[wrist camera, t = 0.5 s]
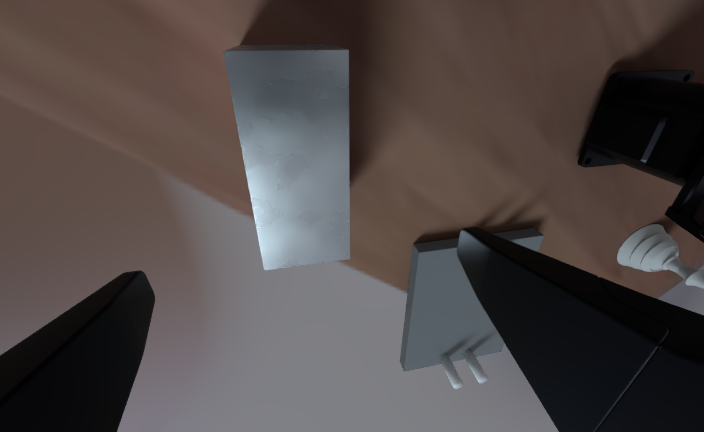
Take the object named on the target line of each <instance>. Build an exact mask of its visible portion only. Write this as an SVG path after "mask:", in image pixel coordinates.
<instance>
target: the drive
mask: <svg viewBox="0 0 704 432" xmlns="http://www.w3.org/2000/svg"><path fill="white" fill-rule="evenodd" d="M224 56H225V62H226V67H227V72H228V78H229V83H230V89H231V94H232V99H233V105H234V110H235V115H236V121H237V126H238V132H239V137H240V142H241V148H242V153H243V158H244V164H245V169H246V175H247V180H248V185H249V191H250V196H251V201H252V207H253V212H254V218H255V223H256V228H257V233H258V239H259V244H260V250H261V255H262V260H263V266H264V270H270V269H279V268H286V267H294V266H301V265H309V264H316V263H324V262H332V261H339V260H347V259H350V186H349V50H347V49H344V48H340V47H336V46H332V45H328V44H305V45H239V46H236V47H233V48H231V49H228V50H226V51H224Z"/></svg>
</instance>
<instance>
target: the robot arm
mask: <svg viewBox="0 0 704 432" xmlns="http://www.w3.org/2000/svg"><path fill="white" fill-rule="evenodd" d="M693 76H694V72H693V71H692V70H660V71H632V72H616V73H614V74H612V76H611V77H610V78H609V80H608V82H607V85H606V88H605V90H604V93H603V95H602V98H601V101H600V103H599V106H598V109H597V111H596V114H595V117H594V119H593V122H592V124H591V127H590V130H589V132H588V135H587V138H586V140H585V143H584V145H583V148H582V151H581V153H580V156H579V159H578V165H580V166H582V167H595V166H606V165H616V164H625V165H627V166H630V167H633V168H635V169H638V170H641V171H643V172H646V173H648V174H651V175H654V176H656V177H659V178H662V179H664V180H667V181H670V182H672V183H675V184H677V185H680V186H683V187H682V189H681V191H680V192H679V194H678V196H677V197H676V199H675V201H674V202H673V204H672V206H669V207H668V209H667V211H666V213H665V215H666V216H667V217H669V218H670V219H672V220H673V221H674V222H676V223H677V224H678V225H679V226H681V227H682V228H684V229H685V230H686V231H688V232H689V233H691V234H692V235H694V236H695V237H696V238H698V239H699V240H701V241H702V242H703V243H704V84H702V83H694V82H691V80H692V78H693ZM617 80H618V81H617ZM457 256H458V259H459V261H460V263H461V265H462V267H463V269H464V271H465V274H466V276H467V278H468V280H469V282H470V284H471V286H472V288H473V290H474V293H475V294H476V296H477V298H478V300H479V302H480V304H481V305H482V307H483V309H484V310H485V312H486V313H487V315H488V317H489V318H490V320H491V322H492V323H493V325H494V326H495V328H496V330H497V331H498V333H499V335H500V336H501V338H502V340H503V341H504V343H505V344H506V346H507V348H508V349H509V351H510V352H511V354H512V356H513V357H514V359H515V361H516V362H517V364H518V366H519V367H520V369H521V370H522V372H523V374H524V375H525V377H526V379H527V380H528V382H529V384H530V385H531V387H532V388H533V390H534V392H535V393H536V395H537V397H538V398H539V400H540V401H541V403H542V405H543V406H544V408H545V410H546V411H547V413H548V414H549V416H550V418H551V419H552V421H553V423H554V424H555V426H556V428H557V429H558V431H559V432H704V315H701V314H698V313H695V312H692V311H689V310H687V309H684V308H681V307H678V306H675V305H672V304H669V303H667V302H664V301H661V300H658V299H656V298H653V297H650V296H647V295H645V294H642V293H639V292H637V291H634V290H632V289H629V288H626V287H624V286H621V285H619V284H616V283H614V282H611V281H609V280H606V279H604V278H601V277H599V278H598V276H596V275H594V274H591V273H589V272H586V271H584V270H581V269H579V268H576V267H574V266H571V265H569V264H566V263H564V262H561V261H559V260H556V259H554V258H551V257H549V256H546V255H544V254H541V253H539V252H537V251H534V250H532V249H529V248H527V247H524V246H522V245H519V244H517V243H514V242H512V241H509V240H507V239H504V238H502V237H499V236H497V235H494V234H492V233H489V232H487V231H484V230H482V229H479V228H477V227H469V228H463V229H462V230H461V232H460V236H459V242H458V247H457ZM154 303H155V295H154V292H153V290H152V288H151V285H150V283H149V281H148V279H147V277H146V275H145V273H144V272H143V271H131V272H126V273H123V274H121V275H119V276H118V277H117V278H115V279H114V280H112V281H111V282H109V283H108V284H106V285H105V286H103V287H102V288H100V289H99V290H97V291H96V292H94V293H93V294H91V295H90V296H88V297H87V298H85V299H84V300H82V301H81V302H79V303H78V304H76V305H75V306H73V307H72V308H70V309H69V310H68V311H66V312H64V313H63V314H61V315H60V316H58V317H57V318H56V319H54V320H52V321H51V322H49V323H48V324H47V325H45V326H44V327H42V328H41V329H39V330H38V331H36V332H35V333H33V334H32V335H30V336H29V337H27V338H26V339H24V340H23V341H21V342H20V343H18V344H17V345H15V346H14V347H12V348H11V349H9V350H8V351H6V352H5V353H3V354H2V355H0V432H117V430H118V427H119V424H120V421H121V418H122V415H123V412H124V409H125V406H126V404H127V401H128V398H129V395H130V392H131V389H132V386H133V383H134V380H135V377H136V374H137V372H138V369H139V366H140V363H141V360H142V356H143V353H144V349H145V344H146V339H147V335H148V331H149V326H150V322H151V317H152V312H153V308H154Z"/></svg>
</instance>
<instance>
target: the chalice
mask: <svg viewBox="0 0 704 432" xmlns="http://www.w3.org/2000/svg"><path fill="white" fill-rule="evenodd" d="M678 254H679V248H678V245H677V243H676V242H675V241H673V240H672V238H671V236H670V235H669V234H667V233H666V232H665V230H664V228H663V226H661V225H659V224H652V225H648V226H645V227H643V228H641V229H639V230H638V231H636V232H635V233H633V234H632V235H631V236H630V237H629V238H628V239H627V240H626V241H625V242H624V243H623V245H622V246H621V248H620V249H619V252H618V254H617V261H618V262H619V264H621V265H624V266H631V267H633V268H635V269H642V270H643V271H648V272H657V271H660V270H668V269H669V270H672V271H674V272H677V273H678V274H679V275H680V276H681V277H682V278H684V279H685V283H686V285H695V286H698V287H700V288H703V289H704V270H695V269H692V268H689V267H687V266H685V265H684V264H682V263H681V262H680V261H679V257H677V256H678Z"/></svg>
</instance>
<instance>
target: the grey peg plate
mask: <svg viewBox="0 0 704 432" xmlns="http://www.w3.org/2000/svg"><path fill="white" fill-rule="evenodd" d="M492 234H494V235H497V236H499V237H502V238H504V239H507V240H509V241H512V242H514V243H517V244H519V245H522V246H524V247H527V248H529V249H532V250H534V251H537V252H538V251H539V248H540V245H541V243H542V240H543V237H544V235H543V234H542V233H540V232H539V231H538V230H536V229H535V228H529V229H522V230H514V231H507V232H499V233H492ZM458 242H459V238H454V239H446V240H439V241H431V242H424V243H416V244H413V251H412V260H411V269H410V277H409V286H408V295H407V303H406V313H405V321H404V330H403V339H402V348H401V357H400V363H401V365H402V368H403V371H409V370H414V369H419V368H424V367H428V366H433V365H437V364H442V366H443V368H444V370H445V372H446V374H447V376H448V378H449V380H450V382H451V384H452V386H453V388H454V389H458V388H460V387H462V386H463V382H462V380H461V378H460V377H459V375H458V373H457V371H456V369H455V367H454V366H453V364H452V362H453V361H457V360H462V359H466V361H467V363H468V365H469V367H470V368H471V370H472V372H473V373H474V375H475V377H476V379H477V380H478V382H479V383H484V382H486V381H487V380H488V377H487V375H486V373H485V372H484V370H483V368H482V367H481V365H480V364H479V362H478V360H477V359H476V357H477V356H481V355H486V354H491V353H496V352H501V351H502V348H503V345H504V341H503V340H502V338H501V336H500V335H499V333H498V331H497V330H496V328H495V326H494V325H493V323H492V322H491V320H490V318H489V317H488V315H487V313H486V312H485V310H484V309H483V307H482V305H481V304H480V302H479V300H478V298H477V296H476V294H475V293H474V290H473V288H472V286H471V284H470V282H469V280H468V278H467V276H466V274H465V271H464V269H463V267H462V265H461V263H460V261H459V259H458V256H457V247H458Z"/></svg>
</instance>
